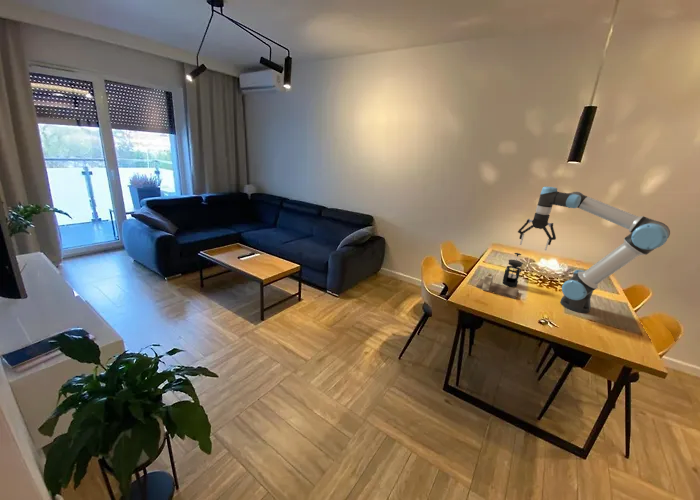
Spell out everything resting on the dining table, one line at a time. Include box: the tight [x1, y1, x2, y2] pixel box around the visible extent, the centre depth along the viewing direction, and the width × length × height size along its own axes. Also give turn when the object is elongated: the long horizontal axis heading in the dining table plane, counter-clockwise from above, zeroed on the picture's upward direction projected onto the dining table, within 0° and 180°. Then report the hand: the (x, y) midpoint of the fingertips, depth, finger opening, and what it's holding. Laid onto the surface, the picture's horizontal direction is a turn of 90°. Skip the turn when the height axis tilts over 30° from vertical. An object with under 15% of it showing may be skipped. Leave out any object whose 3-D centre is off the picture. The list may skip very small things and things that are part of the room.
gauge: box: [481, 272, 495, 292], centre depth 200 cm, size 4×8×10 cm, turn 145°
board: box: [475, 278, 520, 300], centre depth 202 cm, size 24×12×2 cm, turn 55°
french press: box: [501, 252, 524, 288], centre depth 208 cm, size 12×9×23 cm
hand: (532, 247), depth 187 cm, fingers open, 13 cm apart
